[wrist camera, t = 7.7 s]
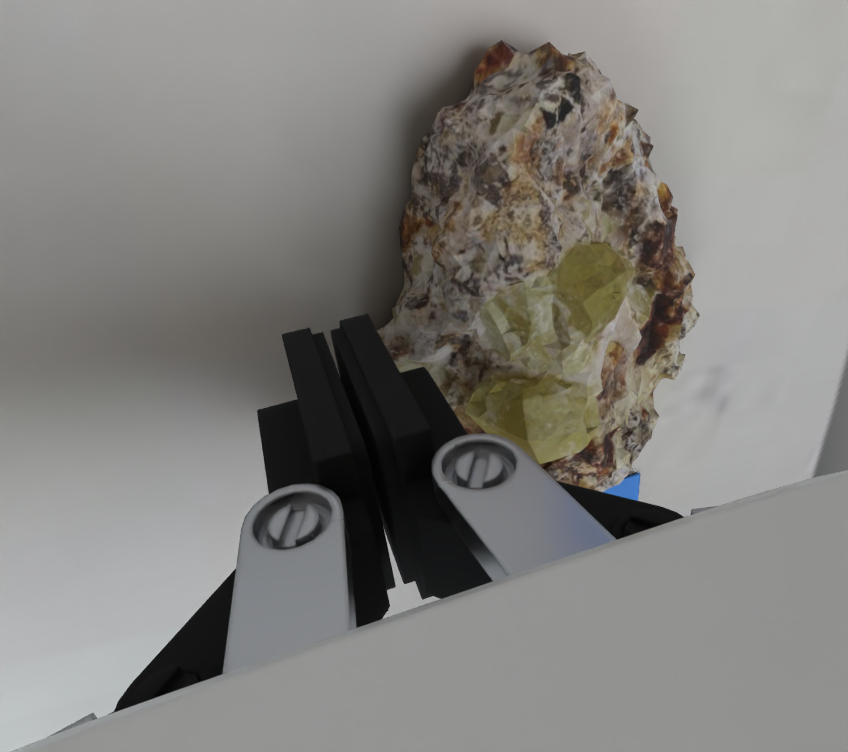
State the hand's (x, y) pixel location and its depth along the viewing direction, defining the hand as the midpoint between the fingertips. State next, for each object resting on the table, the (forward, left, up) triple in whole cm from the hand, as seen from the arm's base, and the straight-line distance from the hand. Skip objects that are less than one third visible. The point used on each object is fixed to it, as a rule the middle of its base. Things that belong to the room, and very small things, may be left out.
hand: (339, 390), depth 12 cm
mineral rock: (+1, +4, -2) cm, 5 cm away
